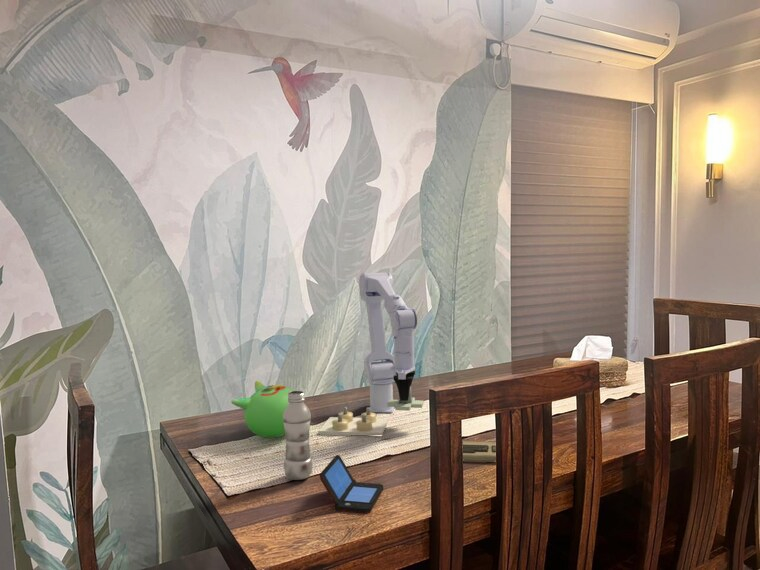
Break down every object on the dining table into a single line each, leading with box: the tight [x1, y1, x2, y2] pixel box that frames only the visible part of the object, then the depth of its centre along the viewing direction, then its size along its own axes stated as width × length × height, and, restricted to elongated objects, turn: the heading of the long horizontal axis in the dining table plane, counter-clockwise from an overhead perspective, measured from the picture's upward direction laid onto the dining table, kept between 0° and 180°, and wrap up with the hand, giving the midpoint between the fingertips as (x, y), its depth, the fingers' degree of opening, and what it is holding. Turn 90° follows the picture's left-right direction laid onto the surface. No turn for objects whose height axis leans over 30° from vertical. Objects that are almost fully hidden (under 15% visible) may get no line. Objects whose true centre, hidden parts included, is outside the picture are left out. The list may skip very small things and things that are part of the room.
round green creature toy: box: [231, 380, 295, 439], centre depth 162 cm, size 18×17×15 cm
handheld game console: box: [319, 454, 384, 514], centre depth 122 cm, size 12×11×7 cm
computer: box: [463, 440, 496, 463], centre depth 144 cm, size 16×8×3 cm, turn 81°
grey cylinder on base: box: [387, 385, 425, 412], centre depth 165 cm, size 10×10×6 cm
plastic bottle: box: [283, 390, 314, 481], centre depth 132 cm, size 6×7×20 cm
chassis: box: [318, 406, 390, 436], centre depth 167 cm, size 13×18×5 cm
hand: (405, 398), depth 165 cm, fingers closed on grey cylinder on base, 4 cm apart
